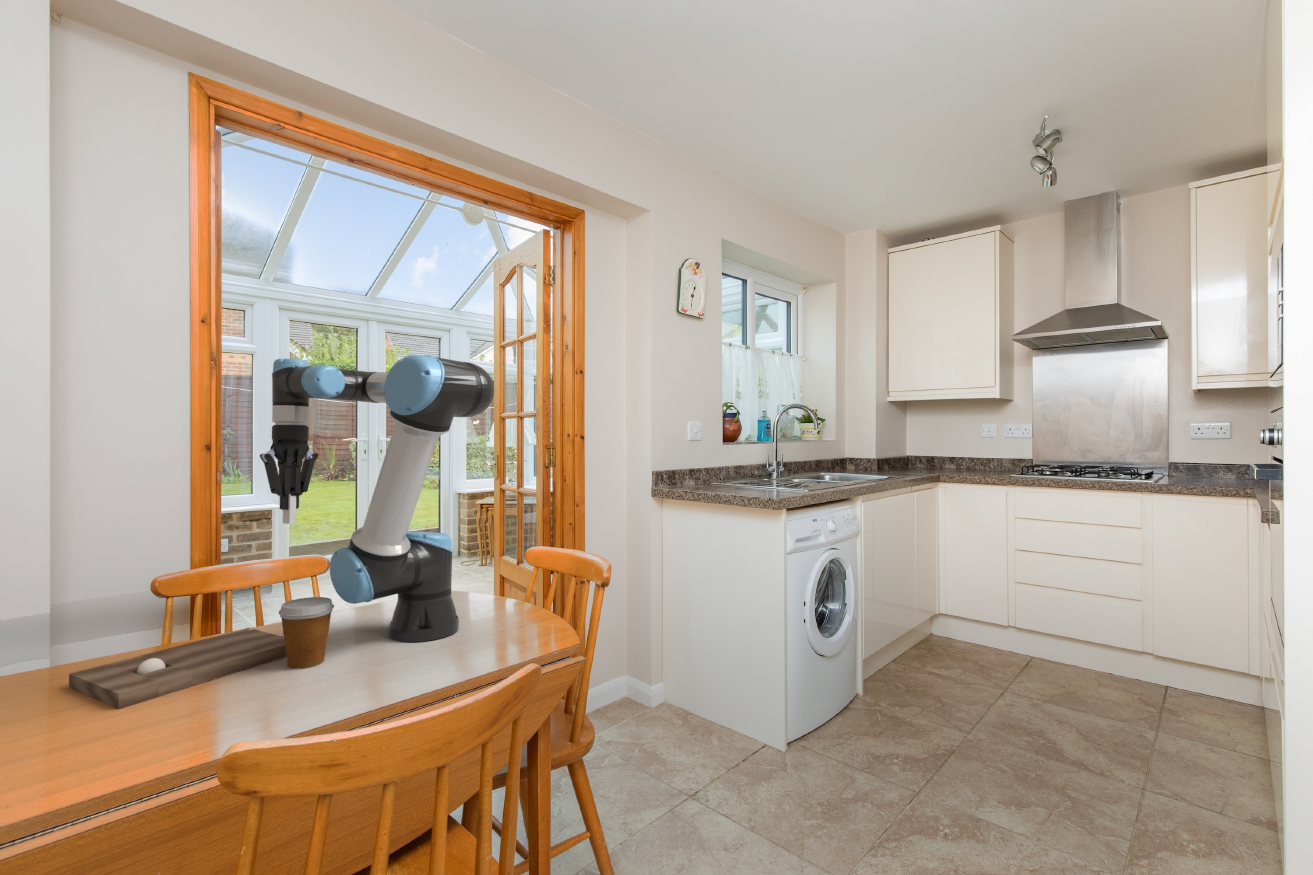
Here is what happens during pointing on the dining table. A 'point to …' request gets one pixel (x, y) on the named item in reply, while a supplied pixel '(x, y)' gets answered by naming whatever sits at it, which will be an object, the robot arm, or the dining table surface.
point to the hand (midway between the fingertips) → (289, 523)
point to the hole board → (178, 667)
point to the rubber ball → (150, 666)
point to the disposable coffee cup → (306, 630)
